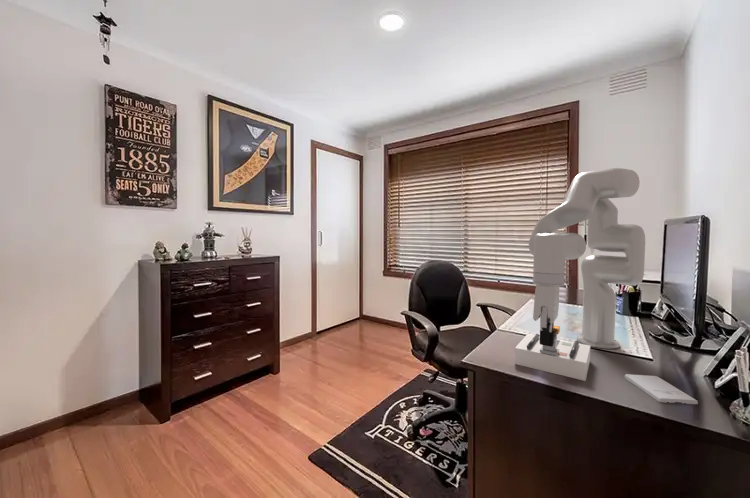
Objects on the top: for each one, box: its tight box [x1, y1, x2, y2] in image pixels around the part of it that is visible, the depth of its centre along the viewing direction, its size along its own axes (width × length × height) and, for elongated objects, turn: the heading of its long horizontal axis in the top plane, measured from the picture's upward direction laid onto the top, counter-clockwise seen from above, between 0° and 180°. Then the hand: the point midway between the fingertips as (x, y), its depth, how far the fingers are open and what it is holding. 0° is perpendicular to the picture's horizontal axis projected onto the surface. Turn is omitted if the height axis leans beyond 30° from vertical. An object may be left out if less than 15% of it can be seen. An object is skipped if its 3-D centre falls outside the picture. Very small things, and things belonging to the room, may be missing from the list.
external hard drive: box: [624, 373, 699, 405], centre depth 80 cm, size 2×8×12 cm
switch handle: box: [540, 325, 561, 356], centre depth 91 cm, size 4×4×8 cm
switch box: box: [514, 333, 591, 382], centre depth 97 cm, size 16×18×6 cm
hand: (546, 344), depth 87 cm, fingers closed
